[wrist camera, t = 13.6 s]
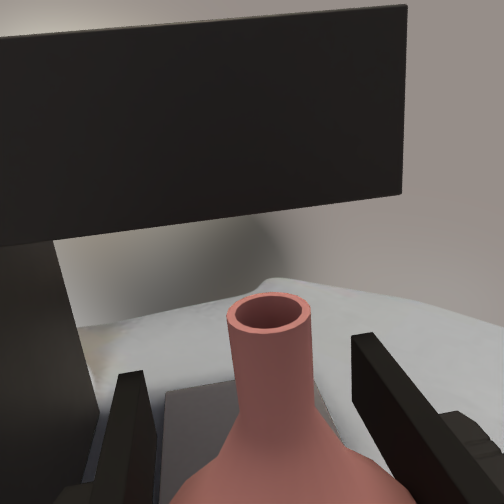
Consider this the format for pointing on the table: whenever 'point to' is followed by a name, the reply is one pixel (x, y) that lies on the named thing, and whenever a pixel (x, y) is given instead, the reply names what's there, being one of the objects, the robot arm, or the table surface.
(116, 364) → the table surface
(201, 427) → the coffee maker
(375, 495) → the pink vase
